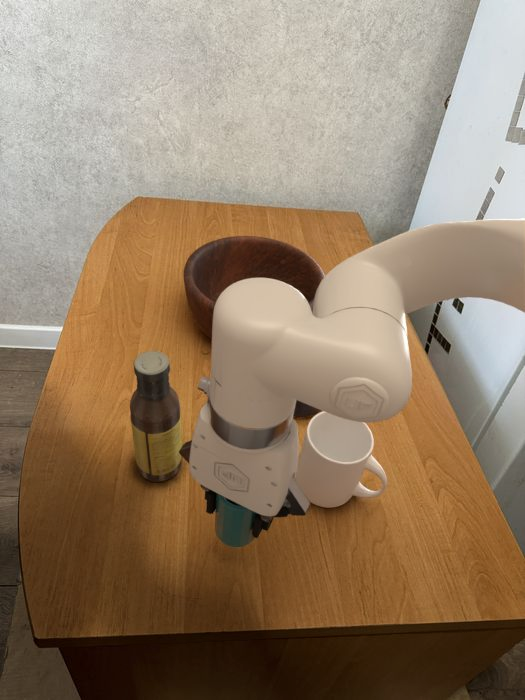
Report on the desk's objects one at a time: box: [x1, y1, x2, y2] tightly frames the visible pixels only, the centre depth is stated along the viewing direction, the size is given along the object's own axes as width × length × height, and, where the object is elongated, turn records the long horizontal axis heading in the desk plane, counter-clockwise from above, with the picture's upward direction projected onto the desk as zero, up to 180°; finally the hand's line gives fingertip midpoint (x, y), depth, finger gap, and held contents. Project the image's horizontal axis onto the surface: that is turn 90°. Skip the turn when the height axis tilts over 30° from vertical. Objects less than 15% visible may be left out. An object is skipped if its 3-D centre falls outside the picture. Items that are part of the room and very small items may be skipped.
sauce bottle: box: [129, 350, 183, 483], centre depth 67 cm, size 6×6×20 cm
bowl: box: [293, 400, 322, 419], centre depth 84 cm, size 9×9×4 cm
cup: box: [214, 493, 257, 548], centre depth 58 cm, size 5×5×8 cm
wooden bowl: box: [183, 235, 326, 340], centre depth 95 cm, size 25×25×10 cm
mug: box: [295, 411, 388, 508], centre depth 70 cm, size 9×12×11 cm
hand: (238, 514), depth 59 cm, fingers closed on cup, 5 cm apart
